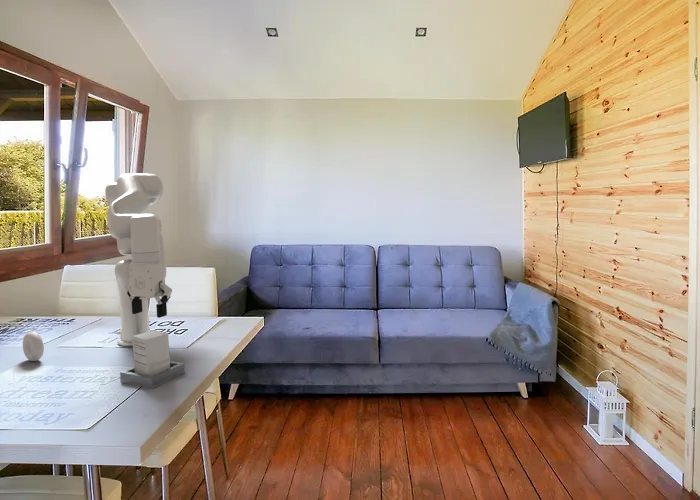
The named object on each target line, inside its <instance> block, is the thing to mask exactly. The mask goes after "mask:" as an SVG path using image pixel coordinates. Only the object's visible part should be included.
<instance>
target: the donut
mask: <svg viewBox="0 0 700 500" xmlns="http://www.w3.org/2000/svg"><path fill="white" fill-rule="evenodd" d="M22 339H23V340H22V350H23V354H24V355H25V358H26V359H28V361H30V362H37V361H39V360H40V359H42V357H43V356H44V350H45V348H44V347H45V346H44V342H43V338H42V336H41V335H40V333H38V332H36V331H28V332H27V333H26V334H25V335H24V336H23V338H22Z"/></svg>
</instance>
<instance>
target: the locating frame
mask: <svg viewBox="0 0 700 500" xmlns="http://www.w3.org/2000/svg"><path fill="white" fill-rule="evenodd" d="M185 368H186V367H185V362H179V361H175V360H174V361H173V360H170V368H169V369H167V370H165V371H162V372H160V373H158V374H156V375H154V376H148V375H143V374H137V373H135V368H134V366H132V367H129V368H127V369H125V370H122V371H120V372H119V377H120V378H119V379H120V383H123V384H127V385H132V386H137V387H142V388H148V389H155V388H157V387H159V386H161V385H163V384H165V383H167V382H169V381H171V380H173V379H175V378H176V377H179V376H181V375H183V374H186V370H185Z"/></svg>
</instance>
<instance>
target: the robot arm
mask: <svg viewBox="0 0 700 500" xmlns="http://www.w3.org/2000/svg"><path fill="white" fill-rule="evenodd" d="M104 191H105V198H106V202H107V205H108V208H107V211H106V212H107V213H106V221H107V226H108V227H107V228H108V231H109V234H110V235H111V237H112V238H114V239H116V244H117V250H118V253H120V255H122V256H131V258H128V259H123V260H120V261H118V262H117V263H116V264H115V266H114V275H115V279H116V284H117V287H118V288H117V289H118V290H117V291H118V297H119V311H120V312H119V313H120V325H121V326H120V328H119V330H117V331H116V335H120V338H118V340H117V345H119V346H123V347H133V340H132V336H135V335H138V334H142V333H145V332H149V331H151V330H150V315H149V299H152V298H154V300H155V301H156V304H155V305H156V317H157V318H159V319H160V318H163V317H165V316H167V315H168V309H167V307H168V306H167V303H169V300H170V298H171V295H172V293H173V289H172V288H171V287H170V286H169V285H167V284H166V277H167V264H166V263H167V262H166V252H165V241H164V236H163V235H162V233H161V232H162V220H161V219H160V218H159V217H158V216H157V215H156V214H154V213H143V212H145V211H146V210H147V209H148V207H149V206H155V205H157V204H158V203H159V201H160V200H161V198H162V196H163V194H164V185H163V181H162V179H161V177H159V176H158V175H157V174H154V173H123V174H121V175H120V176H119V177H118V178H117V179H116V182H111V183H109V184H107V185H106V187H105V189H104Z"/></svg>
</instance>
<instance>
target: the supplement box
mask: <svg viewBox="0 0 700 500" xmlns="http://www.w3.org/2000/svg"><path fill="white" fill-rule="evenodd" d="M132 340H133V346H132V350H133V351H132V353H133V365H134V366H133V367H134V368H135V373H137V374H143V375H148V376H154V375H156V374H158V373H160V372H162V371H165V370H167V369H169V368H170V361H171V359H170V344H169V343H170V342H169V333H167V332H163V331H159V330H156V329H154V330H150V331H149V332H145V333H142V334H138V335H135V336H132Z"/></svg>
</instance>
